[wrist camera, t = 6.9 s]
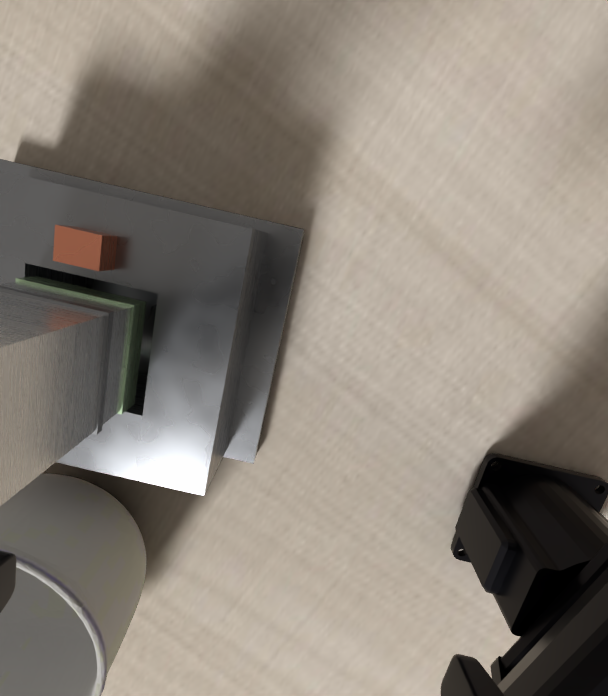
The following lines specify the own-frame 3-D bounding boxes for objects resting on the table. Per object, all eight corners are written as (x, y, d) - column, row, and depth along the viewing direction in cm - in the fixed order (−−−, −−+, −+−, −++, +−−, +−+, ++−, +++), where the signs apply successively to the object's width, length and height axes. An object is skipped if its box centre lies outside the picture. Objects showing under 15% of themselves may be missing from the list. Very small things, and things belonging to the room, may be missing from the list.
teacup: (-18, 436, 22) (-202, 538, 14) (172, 457, 22) (89, 572, 14) (7, 630, 26) (-130, 796, 18) (171, 650, 25) (104, 827, 18)
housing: (304, 230, 18) (295, 222, 13) (256, 453, 21) (231, 530, 16) (12, 162, 18) (-132, 122, 13) (5, 396, 21) (-114, 451, 16)
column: (146, 301, 15) (-8, 348, 8) (134, 404, 16) (-12, 523, 9) (36, 276, 15) (-216, 300, 8) (31, 380, 16) (-194, 482, 9)
